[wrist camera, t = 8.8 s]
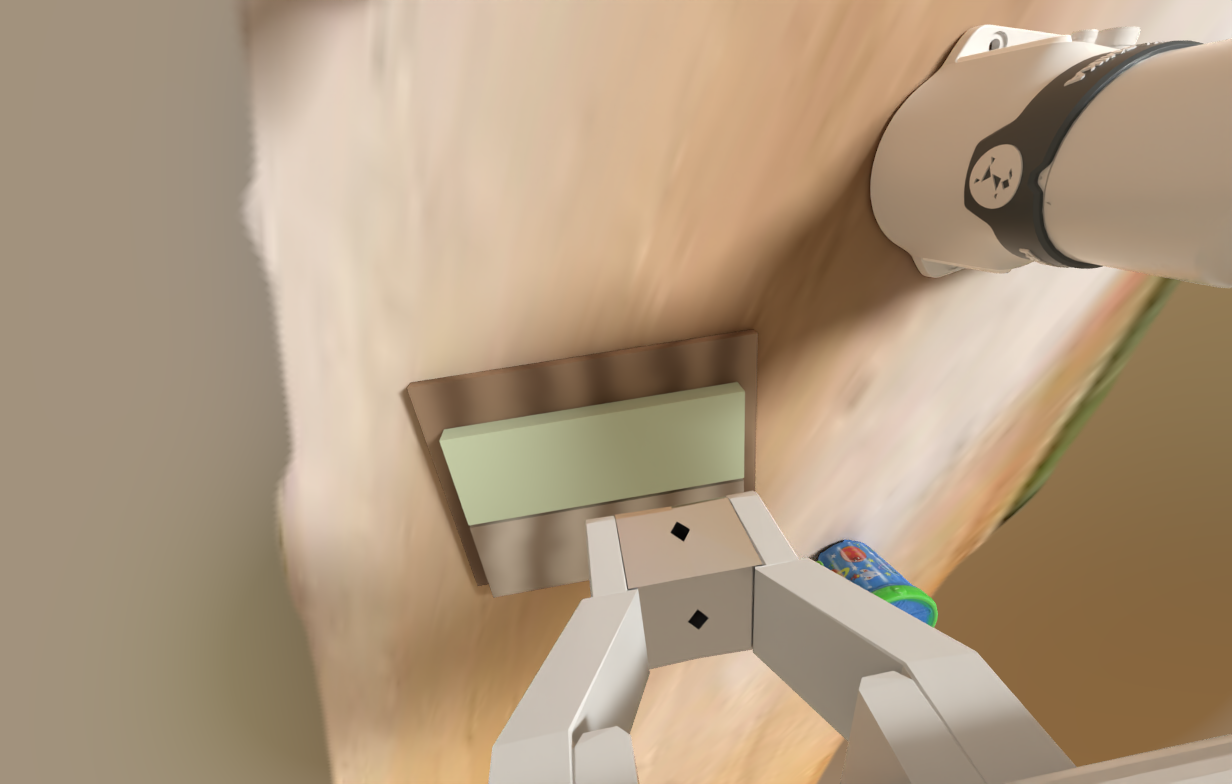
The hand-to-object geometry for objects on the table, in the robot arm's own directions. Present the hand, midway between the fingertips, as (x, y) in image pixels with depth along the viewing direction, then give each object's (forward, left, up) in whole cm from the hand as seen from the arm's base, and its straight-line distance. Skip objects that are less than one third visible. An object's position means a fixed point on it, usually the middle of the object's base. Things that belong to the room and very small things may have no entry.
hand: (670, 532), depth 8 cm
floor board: (+1, +22, -34) cm, 41 cm away
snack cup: (-27, +43, -34) cm, 61 cm away
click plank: (+1, +20, -33) cm, 38 cm away
